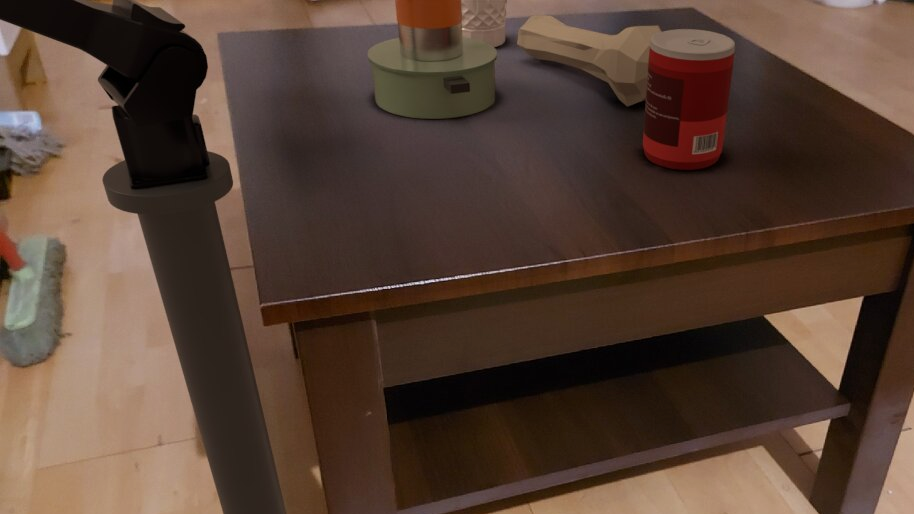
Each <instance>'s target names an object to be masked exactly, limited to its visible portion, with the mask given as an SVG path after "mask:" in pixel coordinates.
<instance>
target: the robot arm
mask: <svg viewBox="0 0 914 514" xmlns="http://www.w3.org/2000/svg"><path fill="white" fill-rule="evenodd" d="M0 21H3V22H6V23H8V24H11V25H13V26H16V27H19V28H21V29H25V30H27V31H30V32H33V33H35V34H38V35H41V36H43V37H46V38H48V39H51V40H54V41H56V42H58V43H62V44H65V45H68V46H70V47H73V48H75V49H78V50H81V51H83V52H84V53H86V54H88V55H90V56H91V57H93V58H94V59H96V60H98V61H99V62H101V63H103V64H105V65H106V66H105V67H104V69H103V70H102V71H101V73H100V75H99V76H98V77H97V83H98V84H99V85H100V87H101V88H102V89H103V91H104V92H105V94H106V95H107V96H108V98H109V99H110V100H111V101H113V102H115V104H117V105H112V106H111V114H112V120H113V123H114V126H115V131H116V134H117V138H118V141H119V145H120V148H121V152H122V155H123V158H124V160H125V162H126V165H127V171H128V178H129V185H130V188H131V189H134V190H135V189H143V188H150V187H157V186H164V185H171V184H178V183H185V182H192V181H199V180H205V179H207V178H208V174H207V171H206V168H205V166H209V164H210V161H209V157H208V152H207V151H208V149H207V143H206V139H205V134H204V130H203V127H202V122H201V119H200V116H198V115H197V114H194V109H195V105H196V96H197V92H198V91H197V90H198V89H199V88H200V87H201V86H203V83H204V82H205V80H206V79H207V74H208V69H209V65H208V57H207V54H206V53H205V51H204V48H203V46H202V44H201V43H200V42H199V41H198V40H197V39H196V38H195V37H193V36H191V35H190V34H188V32H186V31H185V30H184V29H185V28H186V24H185V23H184V22H182V21H181V20H179V19H178V18H176V17H175V16H173V15H172V14H170V13H169V12H168V11H166V10H165V9H163V8H162V7H160V6H157V7H156V6H148V5H145V4H142V3H140V2H138V1H136V0H112V4H109V3H103V2H99V1H98V2H97V1H91V0H0Z"/></svg>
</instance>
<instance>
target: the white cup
mask: <svg viewBox="0 0 914 514" xmlns="http://www.w3.org/2000/svg"><path fill="white" fill-rule="evenodd" d="M507 5H508V0H461V7H462V37H467V38H472V39H476V40H480V41H483V42H485V43H488V44H490V45H491V46H493V47H494V48H497V47H500V46H503V45H504V44H505V42H506V20H507Z"/></svg>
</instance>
